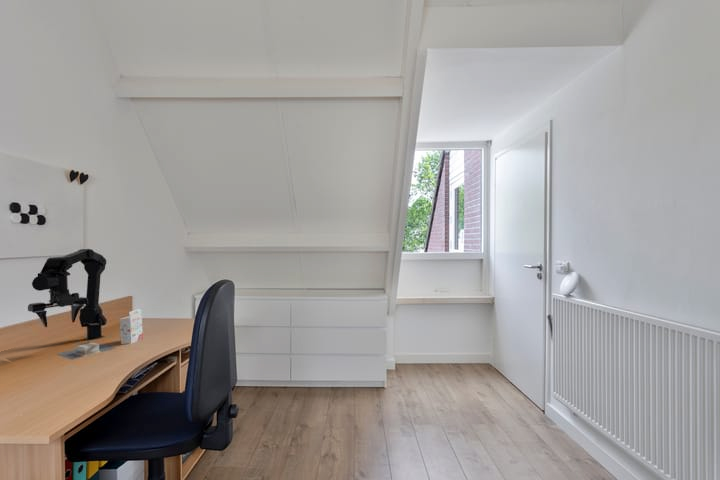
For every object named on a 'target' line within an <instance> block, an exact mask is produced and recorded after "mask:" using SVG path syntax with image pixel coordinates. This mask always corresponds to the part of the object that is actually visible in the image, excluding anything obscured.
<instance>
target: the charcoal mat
mask: <svg viewBox="0 0 720 480" xmlns="http://www.w3.org/2000/svg"><path fill="white" fill-rule="evenodd" d="M98 344H99V352H97V353H93V354H89V355H82V354H78V353H76V348H75V349H72V350H71V349H70V350H67V351H63V352H59V353H56V355H58V356H61V357H64V358H67V359H69V360H75V359H80V358H84V357H87V356H91V355H96V354H100V353H103V352H108V351H112V350H115V349H117V347H114V346H111V345H107V344H103V343H98Z"/></svg>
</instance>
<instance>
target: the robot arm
mask: <svg viewBox="0 0 720 480" xmlns="http://www.w3.org/2000/svg"><path fill="white" fill-rule="evenodd" d="M78 262H80V263H81V264H83V267H84V270H85V272H86V274H87V282H86V283H87V284H86V295H85V296H86V297H84V296H80V293H78V292H72V293H71V292H70V289H69V287H68V286H69V285H68V276H71V273H70V272H69V271H68V270H70V269H71V268H72V267H73V265H75V264H77V263H78ZM106 265H107V259H106V258H105V257H104V255H102V254H100V253H97V251H96V252H95V251H94V250H93V249H91V248H83V249H82V248H80V249H78V250H77V251H74V252H71V253H69V254H66V255H63V256H54V257H48V258H47V259H46V261H45V263H44V265H43V266H42V269H41V271H40V273H39V272H38V273H37V276H36V277H34V278H33V280H32V282H31V285H32V288H33V289H34V290H36V291H38V292H39V291H40V292H41V291H46V290H48V293H49V300H48V303H45V302H33V303H29V304H28V305H27V311H28V312H32V313H34V314H36V315H37V317H38V318H39V319H40V321H41V323H42V325H43V326H44V328H47V327H48V320H47V310H46V309H50V308H58V307H59V308H64V307H68V306H70V307H71V308H70V310H71V313H70V314H71V323H75V322H76V318H77V316H78V318H79V323H80V326H81V328H86V337H84V338H83V340H87V341H92V340H97V339H101V338H105V336H104V335H103V334H102V333H103V331H102V328H103V326H106V325H107V318H106V317H105V315H103V309H102V308H101V305H100V303H99V301H100V289H101V288H100V287H101V276H102V274H103V272H104V271H105V270H106ZM78 314H79V315H78Z"/></svg>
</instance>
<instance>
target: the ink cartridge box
mask: <svg viewBox="0 0 720 480" xmlns="http://www.w3.org/2000/svg"><path fill="white" fill-rule="evenodd" d="M128 314H129V316H125V317H121V318H119V326H120V327H119V329H120V330H119V331H120V345H122V344H123V345H125V344H127V345H128V344H130V345H131V344H133V343H136V342H139V340H140V341H142V340H144V338H143V337H144V334H143V314H142V309H141V308H137V309H134V310H131V311H129V312H128Z"/></svg>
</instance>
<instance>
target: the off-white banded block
mask: <svg viewBox="0 0 720 480" xmlns="http://www.w3.org/2000/svg"><path fill="white" fill-rule="evenodd" d="M99 344H100V343H96V342H91V341H87V342H83V343H79V344H75V349H76V353H78V354H82V355H88V356H90V355H89V354H92V355H94V354H93V353H96V354H98V353H97V352H99Z"/></svg>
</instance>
